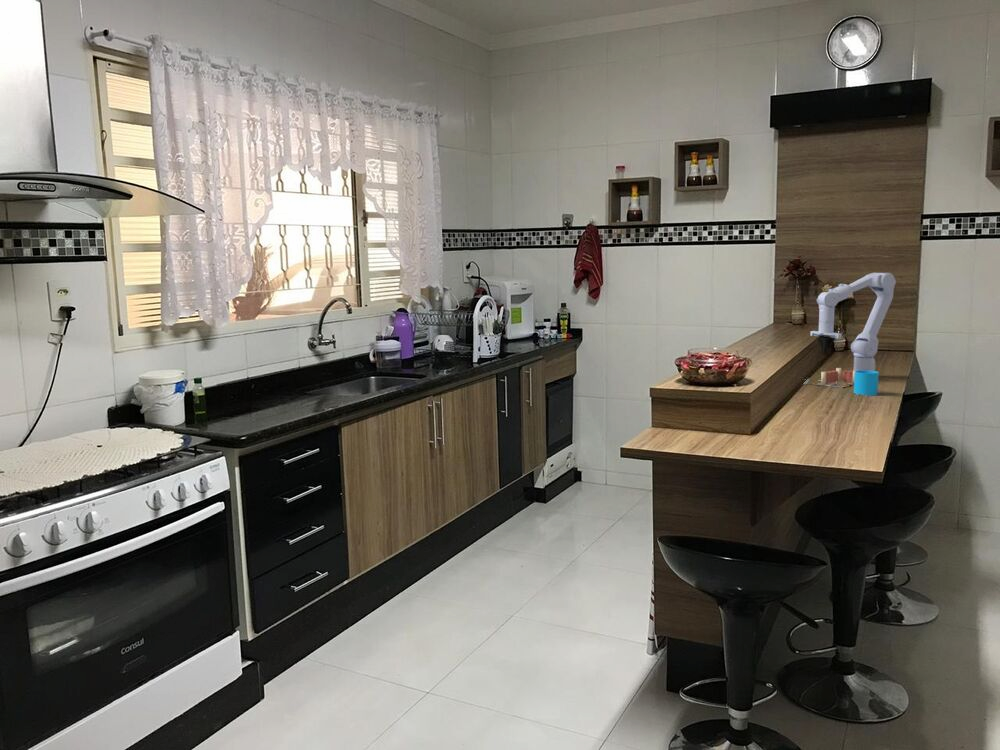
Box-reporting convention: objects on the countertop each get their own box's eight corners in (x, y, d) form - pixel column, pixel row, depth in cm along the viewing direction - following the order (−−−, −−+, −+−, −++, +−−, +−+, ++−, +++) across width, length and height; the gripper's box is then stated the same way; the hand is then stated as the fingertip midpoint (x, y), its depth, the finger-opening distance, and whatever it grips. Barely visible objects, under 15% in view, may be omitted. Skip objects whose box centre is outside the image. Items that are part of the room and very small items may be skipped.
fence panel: (834, 381, 327) (834, 369, 326) (838, 382, 325) (838, 370, 325) (819, 384, 320) (820, 372, 320) (824, 385, 319) (824, 372, 318)
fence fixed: (834, 383, 327) (835, 368, 326) (836, 382, 328) (837, 367, 328) (856, 385, 321) (856, 370, 320) (858, 384, 323) (858, 369, 322)
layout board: (818, 376, 344) (818, 375, 344) (865, 381, 331) (865, 380, 331) (794, 383, 328) (794, 382, 328) (843, 388, 314) (843, 387, 314)
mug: (875, 396, 297) (876, 374, 296) (851, 394, 301) (852, 372, 300) (881, 391, 307) (882, 370, 305) (857, 389, 311) (858, 368, 310)
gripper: (805, 320, 337) (804, 353, 339) (833, 323, 324) (831, 357, 326) (818, 320, 340) (816, 352, 342) (846, 322, 327) (844, 356, 329)
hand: (824, 354), depth 335 cm, fingers closed
